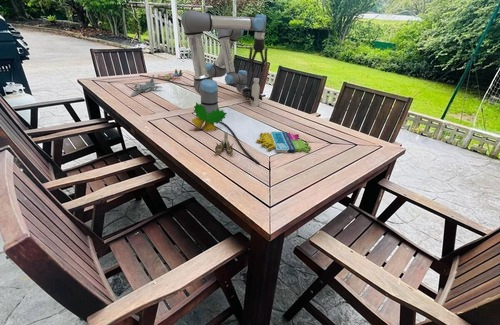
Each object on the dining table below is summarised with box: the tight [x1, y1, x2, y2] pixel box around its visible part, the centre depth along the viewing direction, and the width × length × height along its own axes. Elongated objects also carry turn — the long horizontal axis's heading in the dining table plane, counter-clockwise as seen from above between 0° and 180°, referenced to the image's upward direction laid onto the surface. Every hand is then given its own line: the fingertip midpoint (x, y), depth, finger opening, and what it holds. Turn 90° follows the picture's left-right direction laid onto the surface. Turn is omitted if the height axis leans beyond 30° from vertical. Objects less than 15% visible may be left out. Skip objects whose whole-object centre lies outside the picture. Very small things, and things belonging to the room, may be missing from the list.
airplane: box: [128, 74, 161, 97], centre depth 228 cm, size 38×31×10 cm
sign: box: [256, 131, 312, 154], centre depth 152 cm, size 26×2×30 cm
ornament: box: [191, 102, 228, 132], centre depth 162 cm, size 21×8×15 cm, turn 105°
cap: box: [253, 77, 260, 83], centre depth 205 cm, size 4×4×2 cm
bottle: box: [250, 81, 261, 107], centre depth 210 cm, size 6×6×21 cm
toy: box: [156, 69, 183, 81], centre depth 280 cm, size 28×7×30 cm
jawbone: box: [214, 131, 234, 156], centre depth 136 cm, size 9×15×10 cm
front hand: (257, 71), depth 202 cm, fingers open, 7 cm apart
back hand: (257, 99), depth 208 cm, fingers closed on bottle, 7 cm apart
